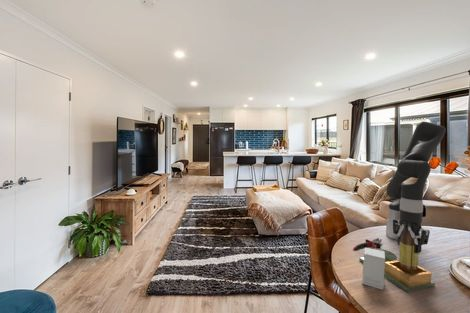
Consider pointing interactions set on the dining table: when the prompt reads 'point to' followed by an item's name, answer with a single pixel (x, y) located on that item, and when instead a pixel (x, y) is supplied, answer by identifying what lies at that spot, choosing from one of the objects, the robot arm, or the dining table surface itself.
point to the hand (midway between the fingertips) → (408, 249)
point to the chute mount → (404, 274)
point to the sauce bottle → (407, 249)
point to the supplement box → (373, 268)
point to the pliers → (369, 244)
